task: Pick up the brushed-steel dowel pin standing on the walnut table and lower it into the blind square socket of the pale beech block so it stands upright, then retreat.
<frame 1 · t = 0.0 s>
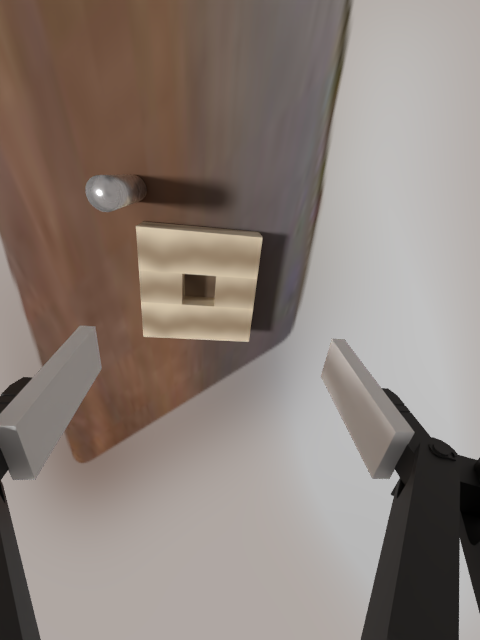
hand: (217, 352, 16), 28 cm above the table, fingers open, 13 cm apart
pin: (133, 188, 36), on the table
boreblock: (200, 280, 43), on the table
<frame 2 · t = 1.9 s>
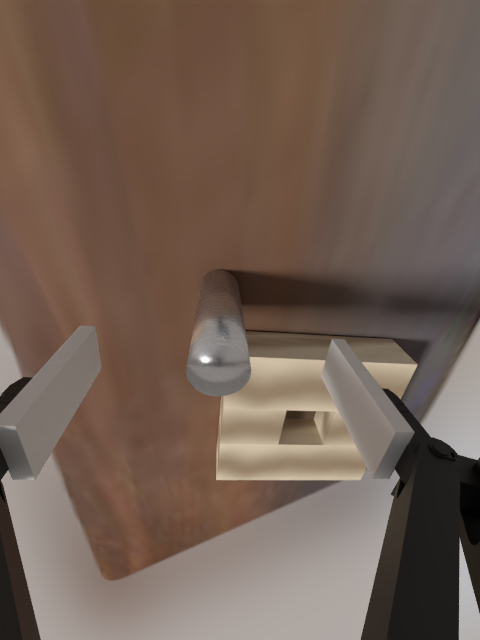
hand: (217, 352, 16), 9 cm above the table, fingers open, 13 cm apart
pin: (219, 288, 24), on the table
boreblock: (296, 398, 30), on the table
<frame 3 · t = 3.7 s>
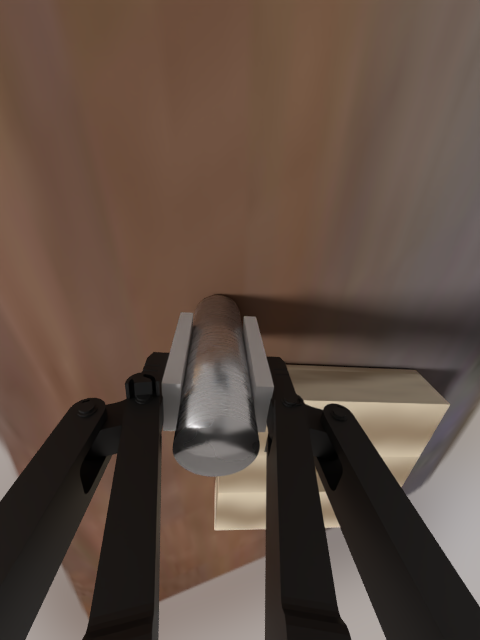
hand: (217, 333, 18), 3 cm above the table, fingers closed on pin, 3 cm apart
pin: (217, 315, 20), on the table, touching gripper
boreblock: (304, 434, 27), on the table
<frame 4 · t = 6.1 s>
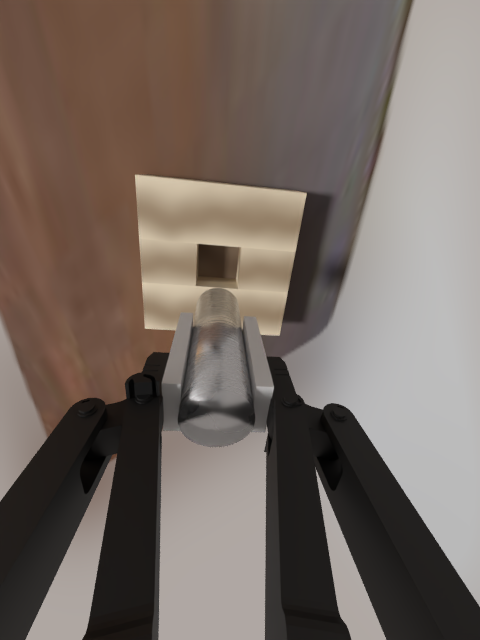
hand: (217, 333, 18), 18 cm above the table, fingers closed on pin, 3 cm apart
pin: (217, 307, 21), point 14 cm above the table, touching gripper
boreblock: (218, 257, 33), on the table
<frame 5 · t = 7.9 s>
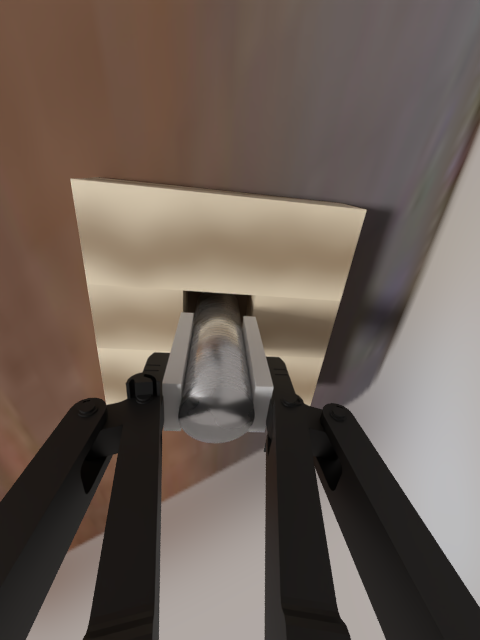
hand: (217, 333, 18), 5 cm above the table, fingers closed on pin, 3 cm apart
pin: (217, 306, 21), point 1 cm above the table, touching gripper
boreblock: (217, 300, 22), on the table
when the fingers open (5 cm above the table, at t = 8.5 s): pin stays where it is, resting on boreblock.
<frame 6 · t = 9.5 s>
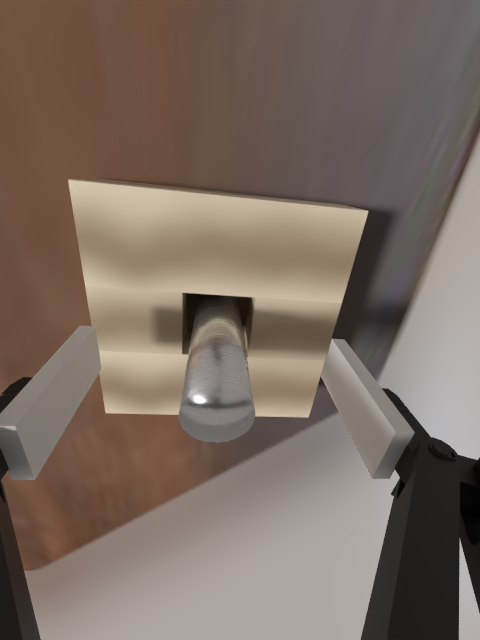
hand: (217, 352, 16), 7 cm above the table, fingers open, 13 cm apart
pin: (217, 306, 22), point 1 cm above the table, touching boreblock
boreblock: (217, 302, 22), on the table
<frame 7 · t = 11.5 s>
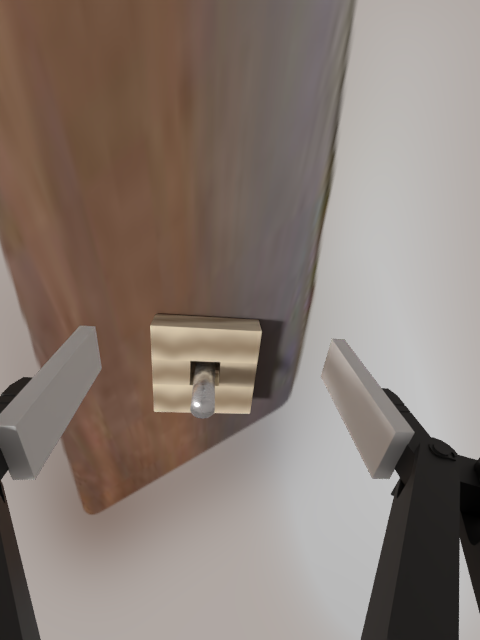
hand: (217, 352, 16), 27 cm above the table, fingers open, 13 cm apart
pin: (205, 361, 47), point 1 cm above the table, touching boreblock
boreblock: (205, 359, 47), on the table
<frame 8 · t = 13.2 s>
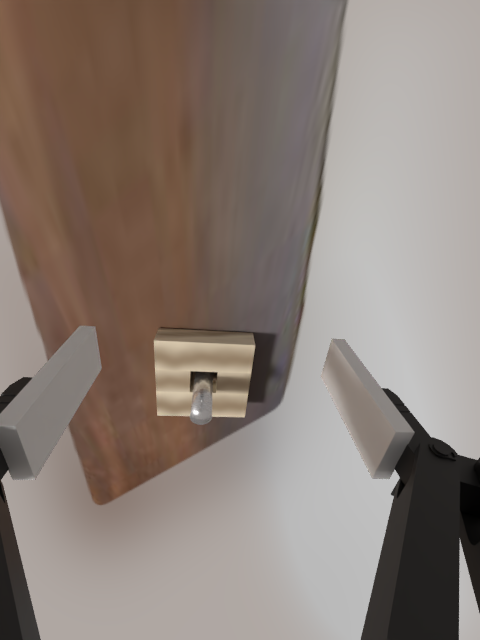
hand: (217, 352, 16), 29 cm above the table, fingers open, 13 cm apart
pin: (204, 370, 51), point 1 cm above the table, touching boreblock
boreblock: (204, 368, 52), on the table
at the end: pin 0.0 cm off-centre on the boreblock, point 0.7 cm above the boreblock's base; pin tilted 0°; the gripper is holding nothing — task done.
